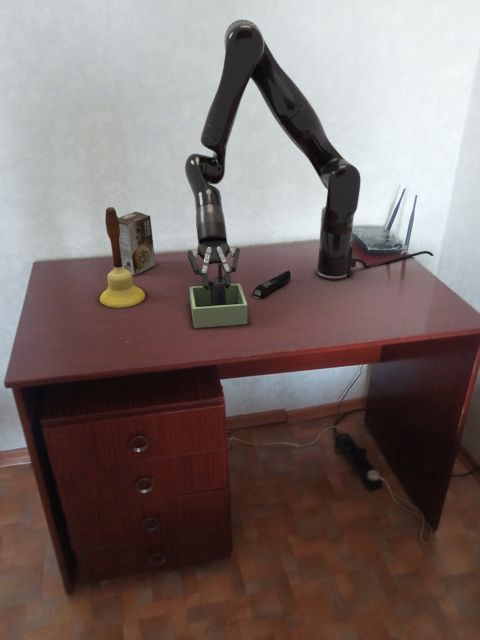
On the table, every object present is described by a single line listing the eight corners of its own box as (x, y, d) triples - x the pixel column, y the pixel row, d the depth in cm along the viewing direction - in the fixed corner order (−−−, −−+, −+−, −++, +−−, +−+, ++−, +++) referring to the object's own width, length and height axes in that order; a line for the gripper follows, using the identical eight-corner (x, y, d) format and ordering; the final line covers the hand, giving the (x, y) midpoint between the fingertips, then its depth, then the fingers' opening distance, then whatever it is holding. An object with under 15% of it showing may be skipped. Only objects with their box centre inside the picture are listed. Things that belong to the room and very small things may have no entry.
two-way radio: (226, 319, 142) (225, 265, 134) (209, 319, 142) (207, 265, 134) (226, 309, 147) (224, 256, 139) (209, 309, 147) (207, 257, 138)
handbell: (154, 293, 154) (145, 206, 140) (123, 311, 145) (110, 219, 132) (121, 283, 159) (109, 198, 146) (89, 300, 150) (74, 210, 137)
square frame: (240, 301, 151) (240, 283, 148) (247, 324, 140) (247, 304, 137) (190, 305, 149) (189, 286, 146) (193, 328, 138) (192, 308, 135)
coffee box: (141, 261, 173) (136, 210, 165) (156, 266, 170) (151, 215, 161) (119, 270, 167) (112, 218, 158) (134, 275, 164) (127, 223, 155)
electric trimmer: (294, 281, 162) (294, 271, 161) (262, 299, 152) (262, 289, 150) (283, 278, 164) (284, 268, 163) (251, 295, 154) (251, 285, 152)
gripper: (183, 221, 139) (189, 285, 135) (239, 218, 141) (246, 281, 137) (183, 233, 146) (189, 295, 142) (236, 231, 148) (243, 291, 144)
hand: (217, 288), depth 140 cm, fingers closed on two-way radio, 4 cm apart
